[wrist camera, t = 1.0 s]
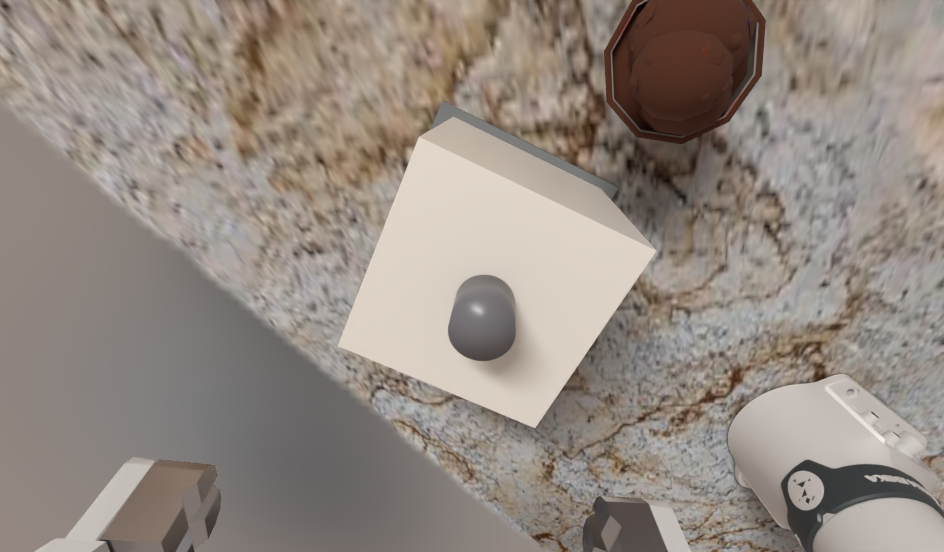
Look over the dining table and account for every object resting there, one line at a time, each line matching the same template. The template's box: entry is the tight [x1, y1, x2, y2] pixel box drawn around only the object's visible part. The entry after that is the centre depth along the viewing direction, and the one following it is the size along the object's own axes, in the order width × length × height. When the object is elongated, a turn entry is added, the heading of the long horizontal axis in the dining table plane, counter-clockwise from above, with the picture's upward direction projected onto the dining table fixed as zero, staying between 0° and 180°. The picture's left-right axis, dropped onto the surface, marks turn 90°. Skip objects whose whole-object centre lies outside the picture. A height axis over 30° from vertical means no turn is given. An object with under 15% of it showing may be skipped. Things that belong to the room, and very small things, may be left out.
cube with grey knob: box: [338, 117, 656, 428], centre depth 36 cm, size 16×16×22 cm
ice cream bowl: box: [604, 0, 766, 144], centre depth 33 cm, size 11×11×15 cm
